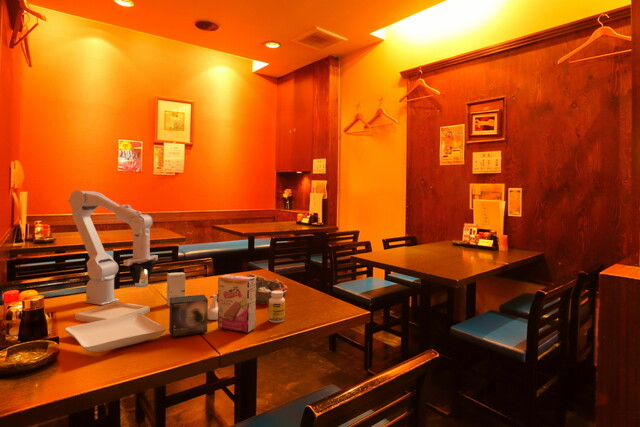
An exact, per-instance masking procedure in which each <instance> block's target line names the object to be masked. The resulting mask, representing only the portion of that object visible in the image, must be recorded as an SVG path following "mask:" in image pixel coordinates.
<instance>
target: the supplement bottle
mask: <svg viewBox="0 0 640 427" xmlns="http://www.w3.org/2000/svg"><path fill="white" fill-rule="evenodd" d="M271 296H272V298H270V299H269V304H268V321H269V322H270V323H272V324H273V323H275V324H278V323H282V322H284V321H285V318H286V317H285V316H286V315H285V314H286V313H285V311H286V310H285V309H286V300H285V298H284V296H283V291H272V292H271Z"/></svg>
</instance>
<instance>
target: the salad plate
mask: <svg viewBox="0 0 640 427" xmlns="http://www.w3.org/2000/svg"><path fill="white" fill-rule="evenodd" d="M166 330H167V329H166V327H164V326H162V325H161V324H159V323H157V322H156V321H154V320H153V319H150V318H149V317H147V316H145V315H144V314H143V315H141V314H134V315H129V316H123V317H117V318H112V319H106V320H101V321H96V322H87V323H81V324H76V325H72V326H67V327H65V328H64V331H65V332H66V333H67V334H68V335H70V336H71V337H72V338H73V339H75V340H76V342H78V344H79V345H80V347H82V349H83V351H86V352H91V353H92V352H95V353H97V352H98V353H99V352H105V351H110V350H114V349H115V350H116V349H119V348H123V347H127V346H132V345H135V344H136V345H137V344H139V343H144V342H146V341H148V340H151V339H154V338H157V337H160V336H161V335H163V334H164V332H165V331H166Z"/></svg>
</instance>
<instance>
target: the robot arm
mask: <svg viewBox="0 0 640 427" xmlns="http://www.w3.org/2000/svg"><path fill="white" fill-rule="evenodd" d="M68 203H69V206H70V208H71V216H72V219H73V222H74V224H75V226H76V229H77V232H78V234H79V235H80V237H81V241H82V243H83V245H84V247H85V250H86V252H87V254H88V257H89V259H88V261H86V267H87V276H88V277H89V278H90V279H89V280H88V281H87V283H86V288H85V289H86V290H85V291H86V292H85V294H86V296H85V297H86V298H85V299H86V300H84V301H83V302H84V304H85V303H87V304H94V305H99V306H103V305H106V304H110V303H113V302H119V301H120V298H116V297H115V277H116V275H117V273H118V272H119V265H118V262H116V261H115V260H114V258H113V256H112V255H110V254H108V253H106V251H105V248H104V245H103V244H102V241H101V239H100V237H99V234H98V232H97V229H96V227H95V226H94V223H93V220H92V218H91V216H92V214H93V213H94V212H95V211H96V210H97V209H98V207H101V208H104V209H106V210H107V211H110V212H112V213H114V215H115V217H116V218H117V219H118V220H120V221H122V222H124V223H126V224H127V225H129V227H130V228H131V232H132V233H131V234H132V257H131V258H128V259H124V260H123V266H126V268H127V270H128V271H129V273H130V276H131V278H132V283H133V284H135V283H139V280H140V271H141V268H147V270H148V282H149V281H150V278H151V276H152V271H153V270H154V268H155V266H156V261H158V257H159V255H157V254H150V253H151V252H150V251H151V250H150V246H151V240H150V239H151V235H150V234H151V233H150V232H151V228H152V227H153V224H154V220H153V217H152V216H151V215H149V214H148V213H142V212H141V210H140V211H139V210H136V209H133V208H132V206H131V205H129V204H121V205H120V204H119V203H116V202H115V201H114V200H111V199H110V198H108V197H107V196H105V195H104V194H103V193H101V192H99V191H96V190H91V191H90V190H78V189H77V190H73V191H72V192H71V193H70V196H69V198H68Z"/></svg>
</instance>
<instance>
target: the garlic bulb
mask: <svg viewBox="0 0 640 427" xmlns="http://www.w3.org/2000/svg"><path fill="white" fill-rule="evenodd" d="M212 295H213V298H212V299H211V302H210V306H209V305H208V319H207V321H208V320H209V321H215V320H217V321H218V301H217V300H216V299H217V298H216V296H217V294H212Z"/></svg>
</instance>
